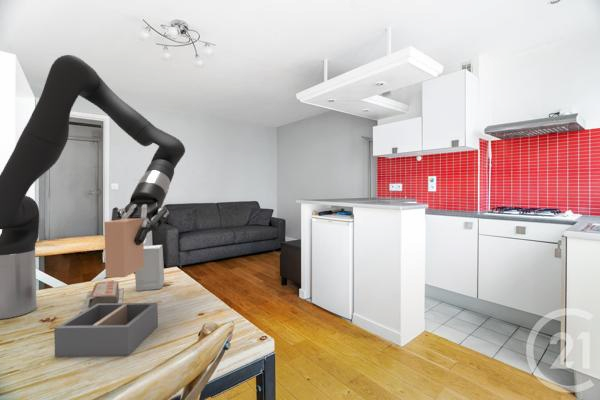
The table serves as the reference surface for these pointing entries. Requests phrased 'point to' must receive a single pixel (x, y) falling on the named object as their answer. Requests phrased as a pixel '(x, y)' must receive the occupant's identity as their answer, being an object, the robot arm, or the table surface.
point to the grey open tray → (106, 330)
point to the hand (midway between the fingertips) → (126, 243)
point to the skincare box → (151, 269)
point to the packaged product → (103, 294)
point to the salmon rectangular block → (123, 247)
